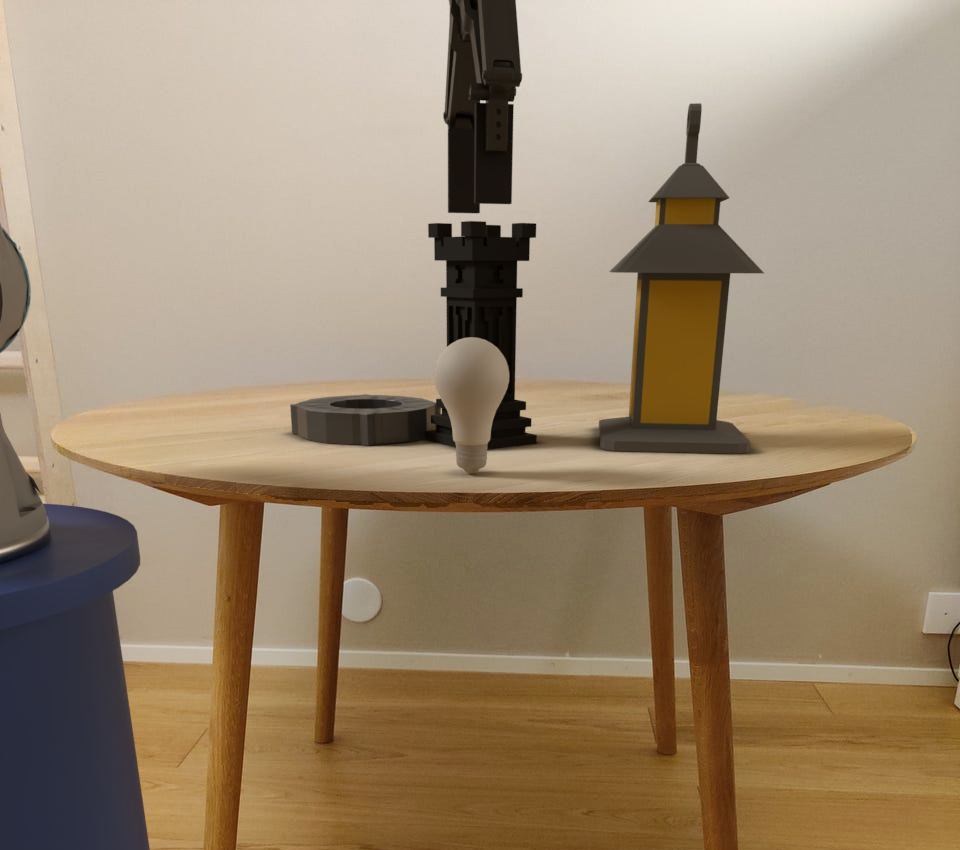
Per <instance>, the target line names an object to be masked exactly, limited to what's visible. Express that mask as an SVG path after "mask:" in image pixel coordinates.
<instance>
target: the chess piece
mask: <svg viewBox="0 0 960 850" xmlns="http://www.w3.org/2000/svg"><path fill="white" fill-rule="evenodd" d="M427 231H428V234H427V235H428V236H427V237H428V238H429V239H430V238H433V241H434V243H433V246H434V249H433V251H434V253H433V254H434V261H435V262H436V261H437V262H438V261H439V262H441V261H445V273H446V274H445V275H446V277H445V279H446V281H445V283H446V285H445V287H440V297H443V298H446V347H448V346H449V345H450V344H452V343H453V342H455V341H457V340H459V339H463V338H469V337H474V338H480V339H484V340H486V341H488V342H490V343H492V344H493V345H494V346H496V347H497V348H498V349H499V350H500V352H501V353H502V354H503V356H504V358H505V359H506V362H507V365H508V369H509V383H508V388H507V390H506V393H505V395H504V397H503V399H502V401H501V403H500V405H499V406H498V408H497V410H496V413H495V416H494V418H493V422H492V427H491V436H490V441H489V442H488V444H487V447H488V448H487V450H489V449H498V448H499V449H500V448H505V447H507V448H508V447H515V446H524V445H525V446H526V445H532V444H537V443H538V442H537V440H538V439H537V437H538V436H537V435H538V434H534V433H530V432H527V431H526V428H531V427H532V417H527V416H523V415H521V411H526V410H527V401H526V400H525V401H524V400H520V399H516V357H517V355H516V353H517V352H516V350H517V302H518V301H517V300H518V299H517V298H523V297H524V296H523V294H524V289H523V288H521V287H518V262H530V255H531V254H530V249H531V247H530V246H531V239H535V238H537V222H536V223H534V222H514V223H511V236H502V225H501V224H487V221H481V220H480V221H478V220H468V221H460V236H453V223H445V222H433V223H431V222H430V223H427ZM435 402H436V407H438V408H441V414H437V415H431V423H432V424H436V430H430V431H426V438H425V440H428V441H431V442H435V443H439V444H442V445H446V446H449V447H453V448H456V443H455V442H454V441H453V433H452V426H451V420H450V417H449V414H448V412H447V409H446V407H445V406H444V404H443V402H442V400H441V398H436V399H435Z"/></svg>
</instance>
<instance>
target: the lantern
mask: <svg viewBox="0 0 960 850" xmlns="http://www.w3.org/2000/svg"><path fill="white" fill-rule="evenodd" d="M702 107H703V106H702V103H701V102H700V103H698V102H697V103H696V102H695V103H689V104H688V109H687V116H686V117H687V118H686V131H685V132H686V134H685V135H686V138H685V139H686V141H685V151H684V152H685V153H684V163H682V164H680V165H679V166H678V167H677V168H676V169H675V170H674V171H673V172H672V174H671V175H670V176H669V177H668V178H667V180H666V181H665V182H664V183H663V184H662V185H661V187H659V189H658V190H657V191H656V192H655V193H654V194H653V196H652V197H651V198H650V199H649V200H648V203H656V204H655V220H654V227H653V228H652V229H651V230H650V231H649V232H647V234H646V235H645V236H644V237H642V238H641V239H640V241H638V242H637V244H636V245H635V246H634V247H633V248H631V250H630V251H629V252H627V253H626V255H624V257H622V258H621V260H619V261H618V263H616V264H615V265H614V266H613V267H612V268H611V269H610V270H609V271H608V272H609V273H617V274H618V273H619V274H620V273H621V274H623V273H625V274H626V273H627V274H628V273H629V274H631V273H632V274H634V273H637V275H636V276H637V277H636V278H637V279H636V293H635V309H634V327H633V343H632V357H631V358H632V361H631V376H630V390H629V391H630V392H629V405H628V408H629V409H628V416H623V417H611V418H603V419H599V420H598V437H599V446H600V449H602V450H604V451H612V452H642V453H643V452H647V453H648V452H650V453H686V454H687V453H689V454H690V453H691V454H692V453H693V454H729V455H730V454H732V455H733V454H735V455H737V454H738V455H739V454H748V452H750V443H751V441H750V440H749V439H748V438H747V437H746V436H745V435H744V434H743V433H742V432H741V430H739V428H738V427H737V426H736V425H735V424H734V423H732V422H729V421H726V420H719V419H718V409H719V398H720V387H721V379H722V378H721V377H722V366H723V357H724V344H725V335H726V326H727V325H726V324H727V314H728V313H727V312H728V304H729V303H728V302H729V293H730V283H731V282H730V281H731V274H765V272H764V271H763V270H762V269H761V268H760V267H759V266H758V264H757V263H756V262H755V261H754V260H753V259H752V258H751V257H750V256H749V255H748V254H747V253H746V252H745V251H744V250H743V249H742V247H740V245H739V244H738V243H736V241H734V239H733V238H732V237H731V236H730V235H729V234H728V232H726V231H725V230H724V229H723V228H722V227H721V226H720V225H719V221H720V211H721V203H722V202H724V201H726V200H728V199H730V196H729V195H728V194H727V192H725V191H724V189H723V188H722V187H721V185H720V184H719V183H718V182H717V180H716V179H715V178H714V177H713V176H712V174H711V173H709V171H708V170H707V169H706V168H705V166H704V165H702V164H700V163H699V162H698V160H697V159H698V150H699V135H700V132H701V122H702V111H703V109H702Z"/></svg>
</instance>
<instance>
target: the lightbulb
mask: <svg viewBox="0 0 960 850" xmlns="http://www.w3.org/2000/svg"><path fill="white" fill-rule="evenodd" d="M433 375H434V377H433V378H434V380H433V381H434V385H435V389H436V391H437V394H438V396H439V399H441V400H442V402H443V404H444V406H445V407H446V409H447V412H448V414H449V417H450V420H451V426H452V433H453V441H454V442H455V443H456V447H455V457H456V458H455V461H456V465H457V467H459V468H460V469H462V470H463V471H464V472H465V473H467V474H469V475H471V474H476V473H479V471H480V470H481V469H483V468H484V467H486V465H487V460H488V449H487V448H488V447H487V444H488V442H489V441H490V436H491V427H492V422H493V418H494V416H495V413H496V410H497V408H498V406H499V405H500V403H501V401H502V399H503V397H504V395H505V393H506V390H507V388H508V383H509V369H508V365H507V362H506V359H505V358H504V356H503V354H502V353H501V352H500V350H499V349H498V348H497V347H496V346H494V345H493V344H492V343H490V342H488V341H486V340H484V339H480V338H474V337H469V338H463V339H459V340H457V341H455V342H453V343H452V344H450V345H449V346H448V347H447V346H446V347H445V348H444V350H443V351H442V352H441V353H440V355H439V356H438V358H437V361H436V364H435V366H434V373H433Z"/></svg>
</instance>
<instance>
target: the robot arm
mask: <svg viewBox="0 0 960 850" xmlns="http://www.w3.org/2000/svg"><path fill="white" fill-rule="evenodd" d="M448 5H449V25H448V41H447V42H448V43H447V45H448V46H447V61H446V78H445V79H446V80H445V96H444V112H443V113H442V118H443V122H444V124H446V125H447V213H448V214H481V204H483V205H511V204H512V203H513V154H514V152H513V151H514V109H515V108H514V105H515V104H513V103H514V101H515V98H516V96H517V88H519V87H520V86H521V83H522V80H523V74H522V67H521V65H522V64H521V54H520V53H521V52H520V40H519V39H520V38H519V27H518V14H517V13H518V12H517V1H516V0H448ZM481 101H485V102H481ZM27 267H28V266H27V263H26V261H25V259H24V257H23V254H22V253H21V251H20V250H19V249H18V245H17V243H16V242H15V241H13V239H12V238H11V237H10V235H9V233H8V232H7V231H6V230H5V229H4V227H3V226H2V224H1V223H0V354H2V353H3V352H4V351H5V350H6V349H7V348H8V347H9V346H10V345H11V344H12V343H13V342H14V341H15V340H16V338H17V337H18V335H19V333H20V331H21V330H22V328H23V326H24V324H25V322H26V320H27V317H28V314H29V310H30V306H31V297H32V287H31V279H30V274H29V270H28V268H27ZM39 494H42V492H41V490H40V489H39V487H38V485H37V483H36V481H35V479H34V478H33V477H32V476H31V475H30V474H29V473H28V472H27V471H26V468H25V467H24V465H23V463H22V461H21V460H20V457H19V456H18V454H17V452H16V450H15V448H14V446H13V445H12V442H11V440H10V439H9V437H8V434H7V433H6V430H5V427H4V425H3V419H2V414H1V413H0V565H3V564H6V563H10V562H13V561H16V560H18V559H21V558H24V557H26V556H29V555H31V554H33V553H35V552H37V551H38V550H40V549H42V548H43V547H44V546H46V545H47V544H48V543H49V541H50V539H51V533H50V526H49V520H48V517H47V516H46V510H45V507H44V505H43V504H44V503H43V501H42V499H41V497H40V495H39Z"/></svg>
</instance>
